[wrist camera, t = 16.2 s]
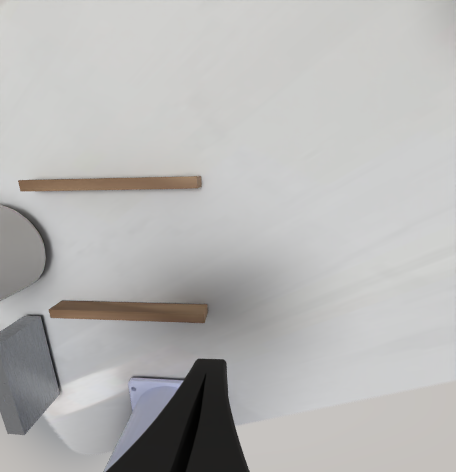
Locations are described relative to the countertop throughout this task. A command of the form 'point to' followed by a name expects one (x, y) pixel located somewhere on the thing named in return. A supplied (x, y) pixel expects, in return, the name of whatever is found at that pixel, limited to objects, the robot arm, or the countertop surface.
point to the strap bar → (25, 374)
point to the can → (18, 253)
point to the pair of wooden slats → (122, 309)
